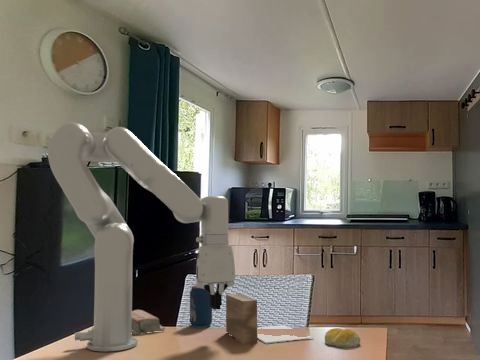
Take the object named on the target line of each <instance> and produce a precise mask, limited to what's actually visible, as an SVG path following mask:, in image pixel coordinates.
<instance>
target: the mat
mask: <svg viewBox="0 0 480 360" xmlns="http://www.w3.org/2000/svg"><path fill="white" fill-rule="evenodd" d="M261 328H262V329H293V328H292V327H290V326H288V325H286V324H281V325H270V326H268V325H267V326H257V329H261ZM257 338H258V339H259V340H258V339H257V340H258V341H260V340H261V341H260V342H262V343H263V344H266V345H267V344H269V345H270V344H278V343H277V342H279V343H287V342H286V341H289V342H294V341H293V340H299V339H309V338H313V339H314V337H313V336H311V335H309V336H307V337H297V336H294V335H293V336H290V335H281V336H272V335H264V334H257ZM309 340H310V339H309ZM299 341H300V340H299Z"/></svg>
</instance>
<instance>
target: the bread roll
mask: <svg viewBox="0 0 480 360" xmlns="http://www.w3.org/2000/svg"><path fill="white" fill-rule="evenodd" d="M324 342H325V344H327V345H328V346H332V347H336V348H345V349H346V348H354V347H358V346H359V345H360V344H361V337H360V335H359V334H358V333H357V332H356V331H354V330H352V329H350V328H345V329H343V328H340V327H336V328H331V329H328V330H327V331H326V333H325V335H324Z"/></svg>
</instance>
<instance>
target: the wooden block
mask: <svg viewBox="0 0 480 360" xmlns="http://www.w3.org/2000/svg"><path fill="white" fill-rule="evenodd" d="M225 302H226V303H225V316H226V317H225V326H226V327H225V332H228V333H229V334H230V335H232V336H233V337H234V338H235V339H234V338H233V337H232V338H233V339H234V340H236V339H237V340H238V341H237V340H236V341H237V342H239V343H240V344H242V345H250V344H251V343H252V344H258V339H257V327H258V300H257V299H254V298H251V297H249V296H246V295H243V294H240V293H228V294H225ZM230 335H229V336H230Z"/></svg>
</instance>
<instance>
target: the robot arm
mask: <svg viewBox="0 0 480 360" xmlns="http://www.w3.org/2000/svg"><path fill="white" fill-rule="evenodd" d="M47 149H48V150H47V158H48V164H49V166H50V169H51V172H52V174H53V176H54V177H55V180H56V182H57V183H58V185H59V186H60V188H61V189H62V192H63V194H64V195H65V197H66V198H67V200H68V202H69V203H70V204H71V206H72V208H73V210H74V212H75V214H76V216H77V218H78V219H79V220H80V221H81V222H83V223H84V224H85V225H86V227H87V228H88V230H89V231H90V233H91V234H92V236H93V237H94V239H95V240H94V298H93V299H94V302H93V303H94V305H93V326H92V327H91V330H87V331H86V332H85V331H84V332H83V331H80V332H79V331H77V332H74V341H79V342H84V341H88V342H86V347H87V349H88V350H90V351H92V352H93V351H94V352H104V353H105V352H119V351H125V350H128V349H131V348H135V347H136V346H137V345H138V339H137V338H136V337H134V336H132V334H131V331H132V311H133V258H134V257H133V255H134V252H133V251H134V243H135V239H134V238H135V237H134V234H133V232H132V230H131V228H130V227H129V226H128V224H127V222H126V221H125V219H124V217H123V216H122V215H121V213H120V211H119V209H118V208H117V207H116V204H115V203H114V202H113V199H111V197H110V196H109V195H108V194H107V193H106V192H105V191H104V190H103V189H102V188H101V185H100V184H99V183H98V182H97V180H96V178H95V177H94V175H93V174H92V171H91V170H90V168H89V167H88V165H87V164H86V162H96V163H97V162H98V163H99V162H100V163H117V164H118V165H119V166H120V167H121V168H122V169H123V170H125V172H126V173H128V174H129V176H130V177H132V179H133V180H134V181H136V182H137V184H139V185H140V186H141V187H143V188H144V189H145V190H147V191H149V192H151V193H152V194H153V195H155V197H156V198H158V199H159V200H160V201H161V202H162V203H163V204H164V205H165V206H167V208H168V209H169V210H171V212H172V214H173V216H174V218H175V219H176V220H177V221H178V222H180V223H182V224H190V223H198V222H200V223H201V225H200V228H201V229H200V230H201V231H200V233H201V234H200V236H199V237H196V238H195V241H196V242H197V243H200V245H201V246H199V247H198V250H197V258H196V266H195V267H196V269H195V273H196V275H195V277H196V284H195V286H196V287H198V288H203V289H205V290H206V291H207V292H208V293H209V294H210V306H211V308H212V310H214V311H216V310H219V311H220V310H221V306H222V305H223V302H222V301H223V300H222V299H223V297H222V295H223V294H224V292H225V291H226V290H227V288H231V287H233V286H235V280H236V267H235V258H234V251H233V247H232V245H229V201H228V198H226V197H225V196H219V195H216V196H215V195H211V196H210V195H209V196H204V197H202V198H201V197H199V196H198V195H197V194H196V193H195V192H194V191H193V190H192V189H191V188H190V187H189V186H188V185H187V184H186V183H185V182H184V181H183V180H182V179H181V178H180V177H178V176H177V174H176V173H174V172H173V171H172V170H171V169H170V168H168V166H167V165H165V164H164V163H163V162H162V161H161V160H160V159H159V158H158V157H157V155H155V154H154V153H153V152H152V151H151V150H150V149H148V147H147V146H146V145H144V143H143V142H142V141H141V140H140V139H139V138H138V137H137V136H135V134H134V133H133V132H131V131H130V130H129V129H128V128H126V127H123V126H116V127H113V128H111V129H109V130H108V131H107V132H106V133H105V132H104V133H102V132H93V131H92V132H91V131H89V129H88V128H87V127H85V126H84V125H83V124H81V123H78V122H74V121H71V122H70V121H68V122H66V123H64V124H61V125H60V126H59V127H58V128H57V129H56V130H55V131H54V132H53V134H52V135H51V138H50V140H49V143H48V148H47ZM215 284H216V287H215Z"/></svg>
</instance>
